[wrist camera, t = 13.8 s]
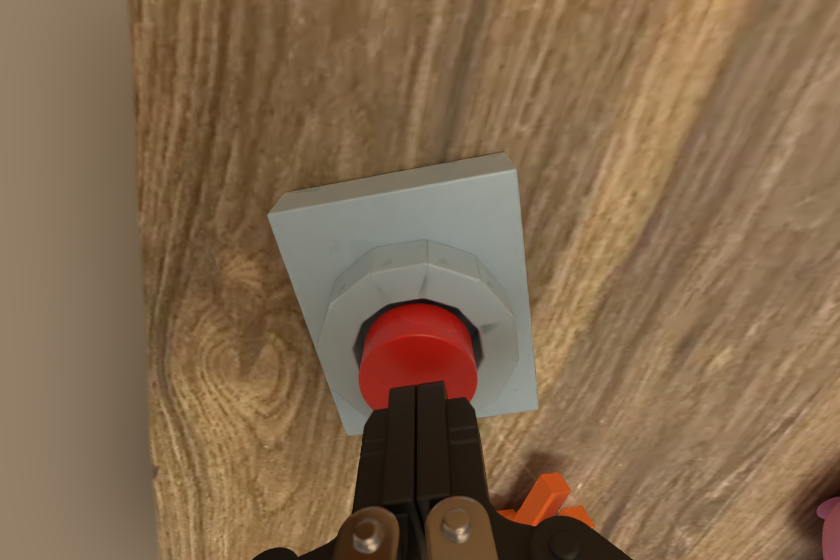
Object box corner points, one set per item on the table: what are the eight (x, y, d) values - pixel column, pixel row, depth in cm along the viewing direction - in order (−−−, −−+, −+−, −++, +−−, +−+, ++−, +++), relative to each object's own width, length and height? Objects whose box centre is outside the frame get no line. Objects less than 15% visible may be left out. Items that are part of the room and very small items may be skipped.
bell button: (352, 312, 15) (344, 344, 14) (464, 294, 15) (469, 325, 13) (377, 396, 17) (373, 434, 15) (479, 381, 17) (485, 419, 15)
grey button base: (282, 192, 17) (247, 237, 14) (505, 150, 16) (529, 186, 13) (353, 399, 22) (340, 473, 18) (528, 374, 21) (550, 445, 18)
